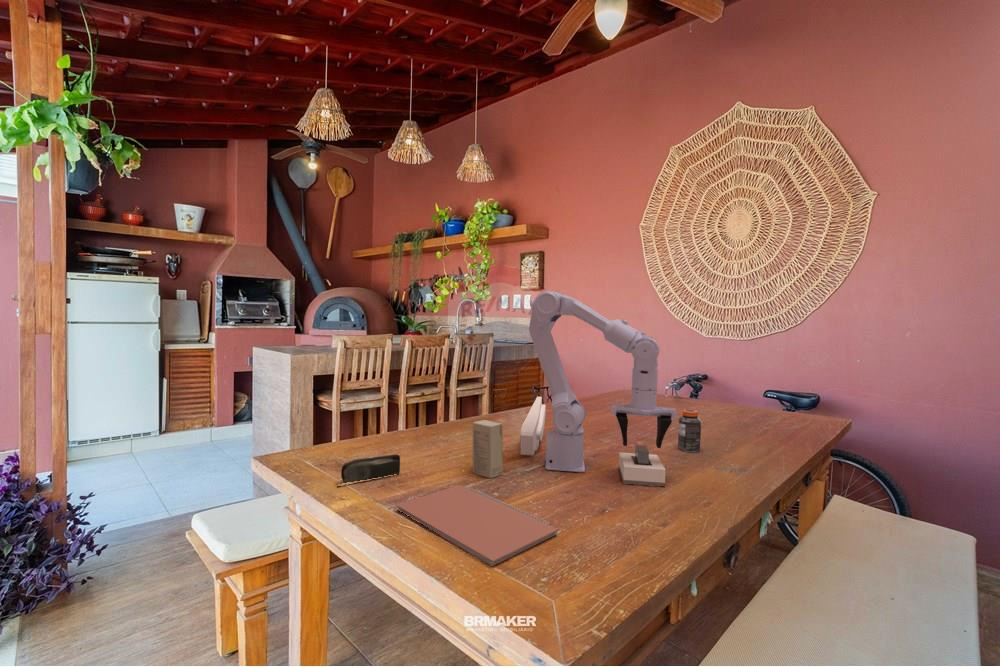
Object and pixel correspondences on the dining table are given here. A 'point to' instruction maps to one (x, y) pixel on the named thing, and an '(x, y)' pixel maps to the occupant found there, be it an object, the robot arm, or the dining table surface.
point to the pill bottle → (689, 431)
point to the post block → (641, 470)
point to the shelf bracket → (533, 428)
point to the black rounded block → (370, 468)
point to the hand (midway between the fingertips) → (641, 445)
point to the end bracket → (641, 455)
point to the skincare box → (487, 448)
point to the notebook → (478, 523)
